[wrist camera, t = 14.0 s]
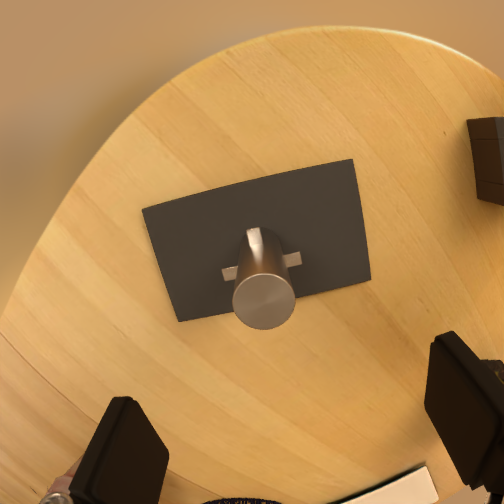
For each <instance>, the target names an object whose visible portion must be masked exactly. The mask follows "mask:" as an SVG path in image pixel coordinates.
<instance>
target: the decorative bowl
mask: <svg viewBox="0 0 504 504" xmlns="http://www.w3.org/2000/svg"><path fill="white" fill-rule="evenodd" d="M247 500H248V502H249V503H250V504H255V501H256V504H262V503H261V502H266V504H270V503H273V504H281V503H278V502H276V501H271V500H264V499H262V500H261V499H254V498H253V499H252V498H251V499H250V498H249V499H248V498H238V499H237V498H231V499H229V498H228V499H221V500H216V501H215V500H214V501H211V502H210V501H209V502H206V503H203V504H218V503H219V501H220V504H225V503H224V501H225V502H226V501H228V502H227V503H226V504H229V502H230V504H235V502H237V501H238V503H237V504H240V503H241V501H242V504H244V501H245V504H247Z"/></svg>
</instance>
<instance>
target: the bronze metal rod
mask: <svg viewBox="0 0 504 504" xmlns="http://www.w3.org/2000/svg"><path fill="white" fill-rule="evenodd" d="M300 264H302V261H301V256H300V252H299V251H296V252H292V253H287V254H283V252H282V248H281V245H280V241H279V239H278V237H277V235H276V234H275V233H274V232H273V231H271V230H270V229H267V228H263V227H259V226H258V227H254V228H250V229H246V234H245V235H244V237H243V239H242V242H241V247H240V254H239V260H238V265H234V266H230V267H225V268H222V273H223V277H224V280H225V281H229V280H233V279H235V285H234V292H233V299H232V304H233V309H234V312H235V314H236V316H237V317H238V318H239V319H240V320H241V321H242V322H243V323H244V324H246V325H247V326H249V327H251V328H255V329H260V330H267V329H272V328H275V327H278V326H280V325H282V324H283V323H284V322H285V321H287V320H288V318H289V317H290V316H291V314H292V312H293V310H294V307H295V294H294V291H293V287H292V283H291V280H290V276H289V273H288V269H287V267H292V266H296V265H300Z"/></svg>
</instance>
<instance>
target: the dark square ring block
mask: <svg viewBox="0 0 504 504" xmlns="http://www.w3.org/2000/svg"><path fill="white" fill-rule="evenodd" d="M467 125H468V130H469V135H470V139H471V140H470V142H471V148H472V155H473V162H474V170H475V178H476V188H477V198H478V199H480V200H484V201H487V202H491V203H495V204H498V205H502V206H504V117H490V118H478V119H468V120H467Z"/></svg>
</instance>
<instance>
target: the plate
mask: <svg viewBox="0 0 504 504" xmlns="http://www.w3.org/2000/svg"><path fill="white" fill-rule="evenodd" d="M438 499H439V498H438V495H437V493H436V490H435V487H434V485H433V482H432V480H431V477H430V475H429V472H428V470H427V467H426V466H422V467H420V468H418V469H416V470H414V471H412V472H410V473H409V474H407V475H405V476H403V477H401V478H398V479H396V480H394V481H392V482H390V483H388V484H386V485H384V486H381V487H379V488H377V489H375V490H372V491H370V492H367V493H365V494H363V495H360V496H358V497H355V498H353V499H350V500H347V501H345V502H342V503H339V504H432V503H434V502H436V501H437V500H438Z"/></svg>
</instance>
